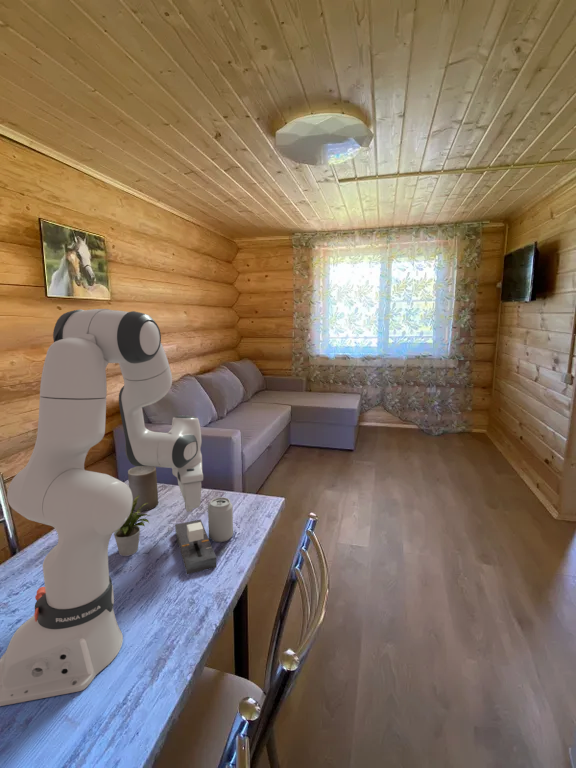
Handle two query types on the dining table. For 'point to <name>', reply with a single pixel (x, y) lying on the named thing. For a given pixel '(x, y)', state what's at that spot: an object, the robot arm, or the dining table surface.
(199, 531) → the fader knob
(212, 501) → the can
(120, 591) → the dining table surface
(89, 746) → the dining table surface
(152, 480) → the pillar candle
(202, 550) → the fader panel
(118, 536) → the house plant
